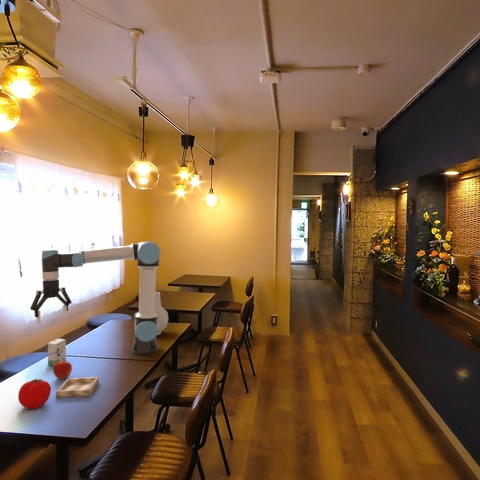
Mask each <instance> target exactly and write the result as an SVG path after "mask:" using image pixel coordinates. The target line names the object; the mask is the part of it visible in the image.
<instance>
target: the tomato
mask: <svg viewBox="0 0 480 480" xmlns="http://www.w3.org/2000/svg"><path fill="white" fill-rule="evenodd" d="M51 392H52V387H51V384H50V383H49V382H48V381H46V380H43V379H40V378H39V379H37V378H35V379H32V380H30V381H25V382H24V383H23V384H22V385H21V387H20V388H19V391H18V402H19V404H20V405H21V406H22V407H24V408H25V409H28V410H35V409H37V408H40V407H42V406H44V405H45V404H46V403H47V402H48V400H49V398H50V396H51V394H52V393H51Z"/></svg>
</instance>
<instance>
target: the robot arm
mask: <svg viewBox="0 0 480 480" xmlns="http://www.w3.org/2000/svg"><path fill="white" fill-rule="evenodd" d="M160 257H161V249H160V247H159V245H158V244H157V243H155V241H151V240H145V241H140V242H135V243H131V244H130V245H125V246H123V245H122V246H114V247H100V248H92V249H84V250H83V249H82V250H72V251H70V252H59V250H58V249H55V248H54V249H53V248H51V249H50V248H49V249H44V250H42V251H41V269H42V271H41V272H42V273H41V274H42V290H38V289H37V290H36V292H35V297H34V299H33V301H32V303H31V306H30V307H29V309H30V311H33V313H34V317H35V318H36V319H35V320H36V324H39V325H41V323H42V322H41V321H42V320H41V317H42V316H41V310H40V309H41V307H42V306H43V305H44V303H45V302H46V300H48V299H52V298H57V299H58V300H59V301H60V302H61V303H62V304H63V305H62V318H64V319H67V318H68V312H69V305H70V304H72V303H73V302H72V300H71V298H70V297H69V294H68V293H67V291H66V290H67V289H66V287H65V286H61V287H60V279H59V278H60V274H59V272H60V271H59V269H60V268H78V267H80V268H81V267H83V266H84V265H85V264H91V263H92V264H93V263H103V262H113V261H122V260H123V261H124V260H132V261H137V262H136V263H137V267H138V269H139V289H138V290H139V291H138V311H137V312H135V313H134V317H133V319H134V340H133V342H132V343H133V344H132V347H131V352H132V354H134V355H138V356H143V355H151V354H155V353H157V352H159V350H160V349H159V343H158V340H157V336H158V335H157V332H158V328H157V314H156V313H155V292H156V284H157V283H156V282H157V277H156V276H157V269H158V268H159V267H160ZM60 292H61V294H60Z"/></svg>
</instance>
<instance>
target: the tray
mask: <svg viewBox="0 0 480 480" xmlns="http://www.w3.org/2000/svg"><path fill="white" fill-rule="evenodd" d="M99 381H100V379H99V376H90V377H89V376H88V377H70V378H68V377H67V379H65V381H64V382H63V383H62V384H61V385H60V386H59V388H58V389H57V390H56V391H55V398H56V399H70V398H71V399H72V398H87V397H88V398H90V397H91V396H92V394H93V393H94V392H95V390H96V388H97V387H98V385H99V383H100V382H99Z"/></svg>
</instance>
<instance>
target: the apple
mask: <svg viewBox="0 0 480 480" xmlns="http://www.w3.org/2000/svg"><path fill="white" fill-rule="evenodd" d="M52 370H53V374H54V376H55V377H56V379H58V380H64V379H66V378H68V377H69V376H71V373H72V371H73V365H72V363H70V362H69V361H66V360H63V361H59V362H57V363H56V364H55V365H53V367H52Z"/></svg>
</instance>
